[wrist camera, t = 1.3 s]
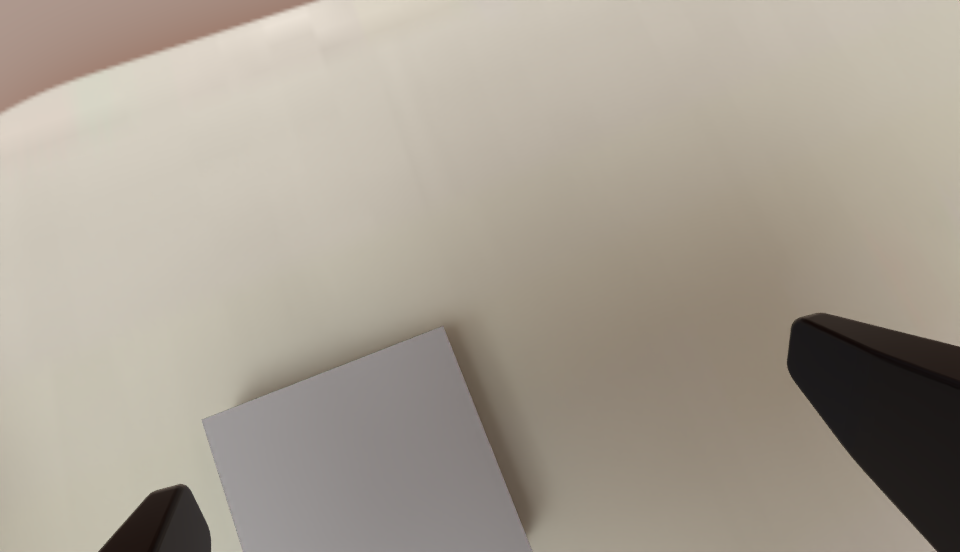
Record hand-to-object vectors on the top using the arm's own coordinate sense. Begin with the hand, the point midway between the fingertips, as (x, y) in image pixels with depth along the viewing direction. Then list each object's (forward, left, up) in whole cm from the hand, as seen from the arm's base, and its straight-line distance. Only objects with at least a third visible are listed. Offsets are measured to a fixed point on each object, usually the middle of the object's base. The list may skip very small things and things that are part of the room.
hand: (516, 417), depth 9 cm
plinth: (-3, +2, -14) cm, 15 cm away
